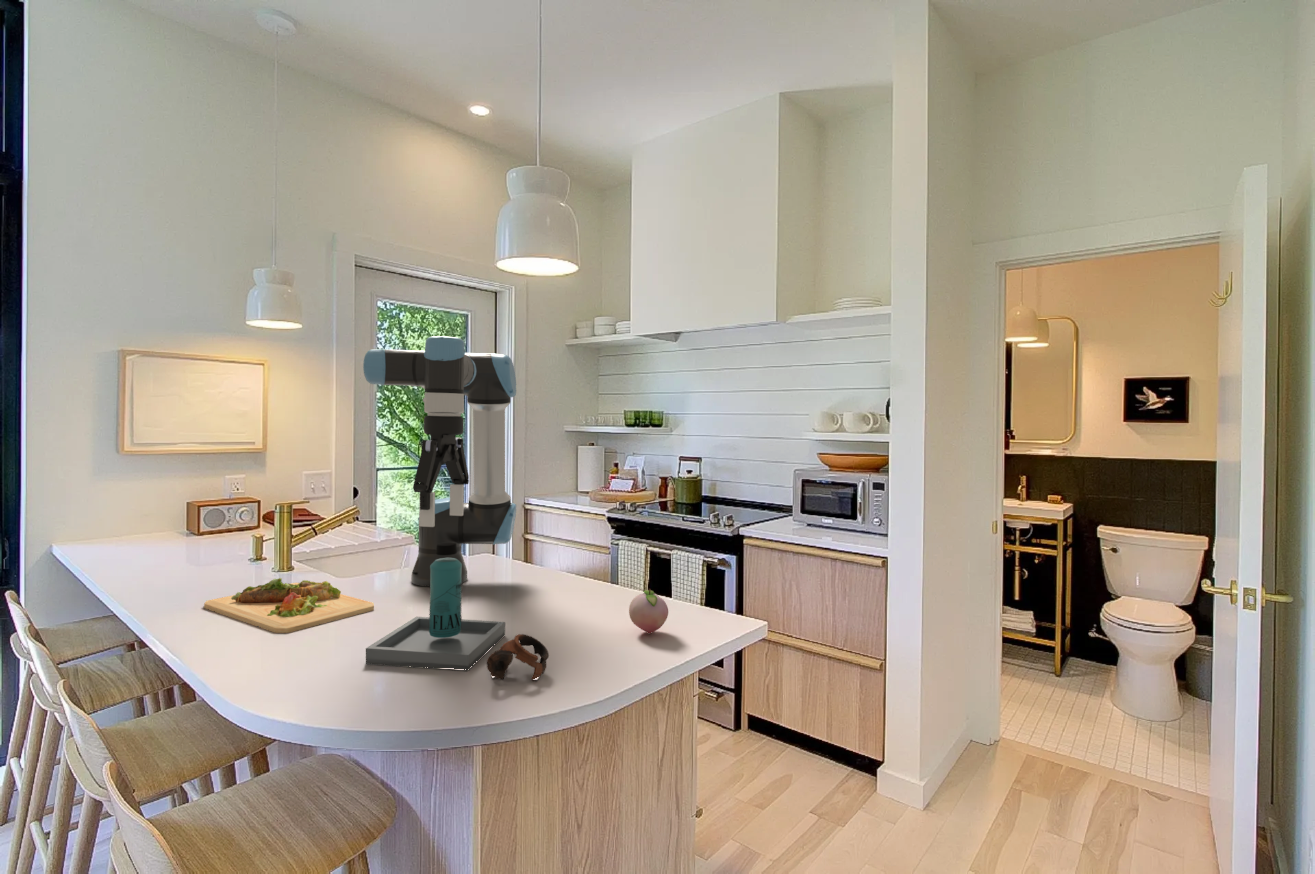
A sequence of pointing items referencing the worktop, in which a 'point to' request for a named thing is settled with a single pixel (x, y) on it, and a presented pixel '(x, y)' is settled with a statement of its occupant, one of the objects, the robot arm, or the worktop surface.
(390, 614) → the worktop surface
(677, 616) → the worktop surface
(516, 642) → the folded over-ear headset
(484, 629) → the tray
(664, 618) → the decorative fruit
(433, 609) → the beverage bottle
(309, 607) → the cutting board
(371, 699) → the worktop surface
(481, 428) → the robot arm
